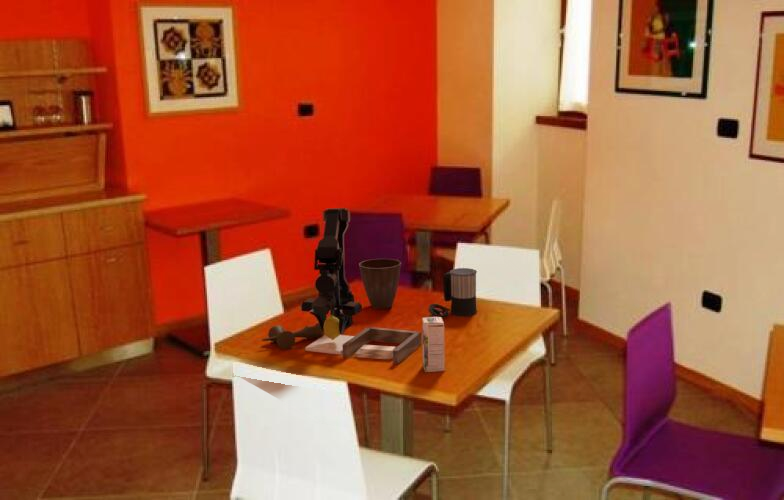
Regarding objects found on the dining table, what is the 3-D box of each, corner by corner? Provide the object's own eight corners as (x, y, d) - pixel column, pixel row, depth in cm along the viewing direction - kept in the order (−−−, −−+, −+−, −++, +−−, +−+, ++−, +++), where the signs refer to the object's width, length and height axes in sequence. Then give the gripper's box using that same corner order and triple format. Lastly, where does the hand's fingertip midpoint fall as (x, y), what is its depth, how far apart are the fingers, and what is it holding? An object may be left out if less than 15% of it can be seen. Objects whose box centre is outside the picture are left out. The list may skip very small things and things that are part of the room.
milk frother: (482, 310, 282) (481, 269, 279) (460, 323, 269) (459, 280, 266) (446, 305, 290) (445, 265, 287) (424, 317, 277) (422, 275, 274)
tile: (305, 350, 249) (305, 347, 249) (327, 336, 261) (327, 333, 261) (340, 354, 244) (340, 351, 244) (360, 340, 257) (360, 337, 256)
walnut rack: (343, 357, 242) (342, 344, 241) (368, 338, 258) (368, 326, 257) (398, 364, 234) (397, 351, 233) (421, 344, 250) (421, 331, 249)
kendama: (327, 342, 257) (267, 353, 248) (315, 335, 265) (257, 345, 256) (326, 324, 256) (266, 334, 247) (314, 318, 264) (256, 327, 255)
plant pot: (359, 301, 299) (357, 259, 295) (399, 299, 300) (398, 257, 297) (362, 313, 284) (360, 269, 281) (404, 310, 286) (403, 266, 282)
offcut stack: (355, 358, 242) (354, 348, 241) (359, 353, 246) (358, 344, 245) (393, 360, 238) (393, 351, 238) (397, 356, 242) (396, 346, 241)
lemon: (339, 343, 249) (337, 318, 247) (322, 342, 250) (320, 317, 249) (344, 337, 254) (342, 312, 253) (327, 336, 256) (325, 312, 254)
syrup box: (422, 365, 232) (420, 317, 229) (442, 364, 233) (441, 316, 230) (424, 372, 227) (423, 323, 224) (445, 371, 227) (444, 322, 224)
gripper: (290, 289, 245) (293, 338, 249) (345, 294, 238) (347, 344, 241) (308, 280, 255) (311, 327, 258) (361, 284, 247) (364, 332, 251)
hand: (332, 333), depth 252 cm, fingers closed on lemon, 5 cm apart
